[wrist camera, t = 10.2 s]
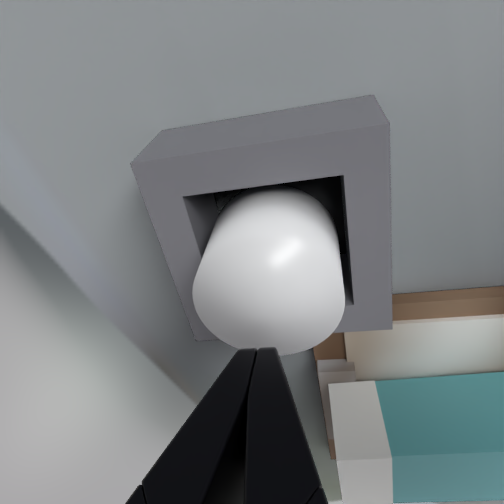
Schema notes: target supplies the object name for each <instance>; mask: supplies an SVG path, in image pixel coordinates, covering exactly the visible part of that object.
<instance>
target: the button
mask: <svg viewBox="0 0 504 504" xmlns="http://www.w3.org/2000/svg"><path fill="white" fill-rule="evenodd" d="M192 295H193V302H194V306H195V309H196V312H197V314H198V316H199V318H200V319H201V321H202V322H203V324H204V325H205V326H206V327H207V329H208V330H210V331H211V332H212V333H213V334H214V335H215V336H216V337H218V338H219V339H220V340H222V341H223V342H225V343H227V344H229V345H231V346H233V347H235V348H237V349H242V348H256V349H257V350H258V349H259V348H261V347H276V348H277V351H278V354H279V356H281V355H290V354H295V353H299V352H302V351H305V350H308V349H310V348H312V347H314V346H316V345H318V344H320V343H321V342H323V341H324V340H325V339H327V338H328V337H329V336H330V335H331V334H332V333H333V332H334V330H335V329H336V328H337V326H338V325H339V323H340V321H341V319H342V316H343V313H344V308H345V293H344V285H343V276H342V268H341V259H340V251H339V242H338V234H337V229H336V225H335V223H334V220H333V218H332V216H331V214H330V213H329V212H328V210H327V209H326V208H325V207H324V206H323V205H322V204H321V202H319V201H318V200H317V199H316V198H314V197H313V196H311V195H309V194H308V193H306V192H304V191H301V190H299V189H296V188H293V187H288V186H283V185H265V186H259V187H254V188H251V189H248V190H246V191H244V192H242V193H240V194H238V195H237V196H235V197H234V198H233V199H231V200H230V201H229V202H228V203H227V204H226V205H225V206H224V208H223V209H222V211H221V212H220V214H219V216H218V218H217V220H216V223H215V226H214V228H213V231H212V234H211V236H210V239H209V241H208V244H207V247H206V249H205V252H204V255H203V257H202V260H201V263H200V265H199V268H198V271H197V273H196V276H195V279H194V283H193V291H192Z"/></svg>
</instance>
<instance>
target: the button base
mask: <svg viewBox="0 0 504 504" xmlns="http://www.w3.org/2000/svg"><path fill="white" fill-rule="evenodd" d="M130 165H131V168H132V170H133V173H134V176H135V178H136V181H137V184H138V186H139V189H140V192H141V194H142V197H143V200H144V203H145V205H146V208H147V211H148V213H149V216H150V219H151V221H152V224H153V227H154V229H155V232H156V235H157V238H158V240H159V243H160V246H161V248H162V251H163V254H164V256H165V259H166V262H167V265H168V267H169V270H170V273H171V275H172V278H173V281H174V283H175V286H176V289H177V291H178V294H179V297H180V300H181V302H182V305H183V308H184V310H185V313H186V316H187V318H188V321H189V324H190V326H191V329H192V332H193V335H194V337H195V340H196V341H205V340H220V339H219V338H218V337H216V336H215V335H214V334H213V333H212V332H211V331H210V330H208V329H207V327H206V326H205V325H204V324H203V322H202V321H201V319H200V318H199V316H198V314H197V312H196V309H195V306H194V302H193V295H192V291H193V283H194V279H195V276H196V273H197V271H198V268H199V265H200V263H201V260H202V257H203V255H204V252H205V249H206V247H207V244H208V241H209V239H210V236H211V234H212V231H213V228H214V226H215V223H216V220H217V218H218V216H219V213H218V210H217V206H216V202H215V198H214V195H213V192H220V191H227V190H235V189H242V188H250V187H257V186H265V185H272V184H280V183H287V182H295V181H302V180H310V179H317V178H324V177H332V176H339V175H340V180H341V192H342V204H343V215H344V227H345V239H346V251H347V254H342V255H340V259H341V268H342V276H343V285H344V293H345V308H344V313H343V316H342V319H341V321H340V323H339V325H338V326H337V328H336V329H335V330H334V332H333V333H341V332H358V331H375V330H392V329H393V322H392V250H391V179H390V123H389V121H388V119H387V118H386V116H385V114H384V112H383V110H382V109H381V107H380V105H379V103H378V102H377V100H376V98H375V96H374V95H369V96H363V97H357V98H351V99H345V100H339V101H333V102H327V103H321V104H316V105H310V106H304V107H298V108H292V109H286V110H280V111H274V112H268V113H263V114H257V115H251V116H245V117H239V118H233V119H227V120H221V121H216V122H210V123H204V124H198V125H192V126H186V127H180V128H174V129H168V130H163V131H161V132H160V133H159V134H158V135H157V136H156V137H155V138H154V139H153V140H152V141H151V142H150V143H149V144H148V145H147V146H146V147H145V148H144V149H143V151H142V152H141V153H140V154H139V155H138V156H137V157H136V158H135V159H134V160H133V161H132V162H131V163H130Z"/></svg>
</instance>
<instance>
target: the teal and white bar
mask: <svg viewBox="0 0 504 504" xmlns="http://www.w3.org/2000/svg"><path fill="white" fill-rule="evenodd" d="M328 387H329V396H330V405H331V414H332V424H333V433H334V442H335V451H336V461H337V467H338V474H339V481H340V487H341V494H342V500H343V504H393V503H407V502H408V503H410V502H451V501H489V500H504V372H494V373H480V374H466V375H452V376H439V377H425V378H411V379H397V380H384V381H375V380H373V381H360V382H346V383H332V384H328Z"/></svg>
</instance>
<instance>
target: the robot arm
mask: <svg viewBox="0 0 504 504" xmlns="http://www.w3.org/2000/svg"><path fill="white" fill-rule="evenodd" d="M125 504H328V502H327V498H326V495H325V492H324V490H323V488H322V484H321V481H320V478H319V475H318V472H317V469H316V466H315V463H314V460H313V457H312V454H311V451H310V448H309V445H308V442H307V439H306V436H305V433H304V430H303V426H302V423H301V420H300V417H299V414H298V411H297V408H296V405H295V402H294V399H293V396H292V393H291V390H290V387H289V384H288V381H287V378H286V375H285V372H284V369H283V366H282V363H281V360H280V357H279V354H278V351H277V348H276V347H261V348H259V349H258V350H257V349H256V348H242V349H239V350H238V351H237V352H236V354H235V355H234V356H233V358H232V359H231V360H230V362H229V363H228V364H227V366H226V367H225V369H224V370H223V371H222V373H221V374H220V375H219V377H218V378H217V379H216V381H215V382H214V384H213V385H212V386H211V388H210V389H209V390H208V392H207V393H206V394H205V396H204V397H203V399H202V400H201V401H200V403H199V404H198V405H197V407H196V408H195V409H194V411H193V412H192V414H191V415H190V416H189V418H188V419H187V420H186V422H185V423H184V425H183V426H182V427H181V429H180V430H179V431H178V433H177V434H176V436H175V437H174V438H173V439H172V441H171V442H170V444H169V445H168V446H167V448H166V449H165V450H164V452H163V453H162V454H161V456H160V457H159V459H158V460H157V461H156V463H155V464H154V465H153V467H152V468H151V470H150V471H149V472H148V474H147V475H146V477H145V478H144V479H143V480H142V485H139V486H138V487H137V488H136V490H135V491H134V492H133V494H132V495H131V496H130V498H129V499H128V501H127V502H126V503H125Z"/></svg>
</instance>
